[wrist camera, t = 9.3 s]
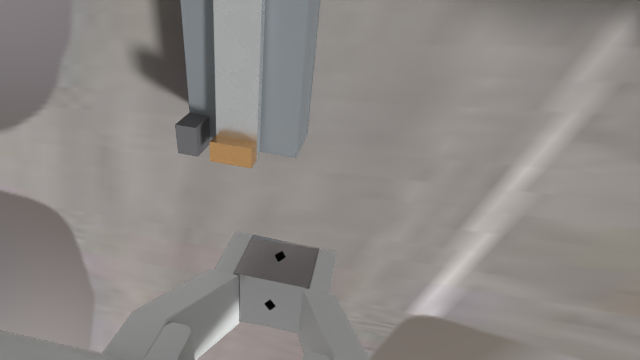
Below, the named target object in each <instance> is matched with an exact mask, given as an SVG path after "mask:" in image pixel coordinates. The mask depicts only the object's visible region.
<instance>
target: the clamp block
mask: <svg viewBox="0 0 640 360" xmlns="http://www.w3.org/2000/svg"><path fill="white" fill-rule="evenodd" d="M180 1H181V14H182V26H183V38H184V50H185V62H186V74H187V86H188V98H189V110H190V113H189V114H187V115H186V116H185V117H184V118H183V119H181V120H180V121H179V122H178V123H176V124H175V128H176V137H177V147H178V153H181V154H186V155H192V156H199V155H200V154H201V153H202V152H203V151H204V150H205V148H206V147H207V146H208V145H209V144H210V143H209V142H210V141H211V140H212V139H213V138H214V137H215V136H216V100H215V55H214V11H213V0H180ZM319 7H320V0H265V22H264V48H263V74H262V100H261V126H260V152H265V153H271V154H276V155H282V156H288V157H294V158H296V157H297V155H298V153H299V150H300V148H301V146H302V144H303V142H304V140H305V137H306V135H307V132H308V122H309V112H310V101H311V91H312V80H313V70H314V59H315V49H316V38H317V28H318V17H319Z"/></svg>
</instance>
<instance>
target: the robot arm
mask: <svg viewBox="0 0 640 360" xmlns="http://www.w3.org/2000/svg"><path fill="white" fill-rule="evenodd" d="M336 256H337V251H336V250H330V249H324V248H317V247H312V246H306V245H301V244H296V243H290V242H285V241H280V240H275V239H271V238H266V237H261V236H257V235H250V234H246V233H241V232H236V233H235V234H234V235H233V237H232V239H231V241H230V242H229V244H228V246H227V248H226V250H225V251H224V253H223V255H222V257H221V259H220V260H219V262H218V264H217V266H216V267H215V269H214V270H210V269H209V270H207V271H205V272H203V273H201V274H200V275H198V276H196V277H194V278H192V279H191V280H189V281H187V282H185V283H183V284H182V285H180V286H178V287H176V288H174V289H173V290H171V291H169V292H167V293H165V294H164V295H162V296H160V297H158V298H156V299H155V300H153V301H151V302H149V303H147V304H146V305H144V306H142V307H140V308H138V309H137V310H135V311H133V312H132V313H131V314H130V316H129V317H128V318H127V320H126V321H125V323H124V324H123V325H122V327H121V328H120V329H119V331H118V332H117V334H116V335H115V336H114V338H113V339H112V341H111V342H110V343H109V345H108V346H107V347H106V349H105V350H104V352H103V353H99V352H95V351H90V350H86V349H81V348H77V347H72V346H68V345H64V344H59V343H55V342H50V341H46V340H41V339H37V338H33V337H28V336H24V335H20V334H15V333H11V332H6V331H2V330H0V360H196V359H198V358H199V357H200V356H201V355H202V354H203V353H205V352H206V351H207V350H208V349H209V348H211V347H212V346H213V345H214V344H215V343H216V342H218V341H219V340H220V339H221V338H222V337H223V336H225V335H226V334H227V333H228V332H229V331H231V330H232V329H233V328H234V327H235V326H236V325H238V324H239V321H240V322H246V323H251V324H257V325H262V326H268V327H272V328H276V329H280V330H285V331H289V332H293V333H297V334H298V337H299V340H300V343H301V346H302V349H303V352H304V356H303V359H302V360H370V359H369V357H368V355H367V354H366V352H365V350H364V348H363V346H362V344H361V342H360V341H359V339H358V337H357V335H356V333H355V331H354V330H353V328H352V326H351V324H350V322H349V320H348V318H347V317H346V315H345V313H344V311H343V309H342V307H341V306H340V304H339V302H338V300H337V298H336V296H335V295H334V294H330V290H331V285H332V279H333V273H334V267H335V261H336Z"/></svg>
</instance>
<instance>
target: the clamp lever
mask: <svg viewBox="0 0 640 360" xmlns="http://www.w3.org/2000/svg"><path fill="white" fill-rule="evenodd" d="M213 11H214V55H215V100H216V136H215V137H214V138H213V139H212V140H211V141H210V142H209V143H210V161H213V162H219V163H224V164H230V165H235V166H241V167H247V168H252V166H253V165H254V163H255V162H256V161H257V159H258V158H259V152H260V126H261V100H262V74H263V48H264V22H265V0H213Z"/></svg>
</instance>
